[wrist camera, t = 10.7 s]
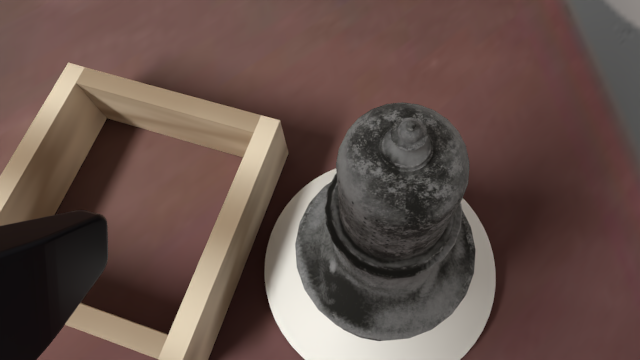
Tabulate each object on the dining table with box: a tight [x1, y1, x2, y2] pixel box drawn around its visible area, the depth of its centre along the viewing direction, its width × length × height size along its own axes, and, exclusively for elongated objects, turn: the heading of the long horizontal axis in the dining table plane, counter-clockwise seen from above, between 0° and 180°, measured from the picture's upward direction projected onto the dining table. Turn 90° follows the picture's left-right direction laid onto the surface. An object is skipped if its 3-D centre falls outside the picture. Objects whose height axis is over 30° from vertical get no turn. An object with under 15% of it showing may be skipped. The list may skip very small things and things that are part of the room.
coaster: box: [264, 169, 496, 360], centre depth 21 cm, size 9×9×1 cm
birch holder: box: [0, 63, 288, 360], centre depth 21 cm, size 10×10×3 cm
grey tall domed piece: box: [295, 103, 476, 341], centre depth 15 cm, size 6×6×12 cm
